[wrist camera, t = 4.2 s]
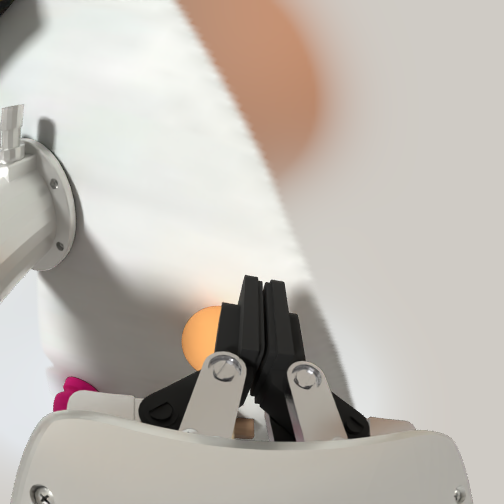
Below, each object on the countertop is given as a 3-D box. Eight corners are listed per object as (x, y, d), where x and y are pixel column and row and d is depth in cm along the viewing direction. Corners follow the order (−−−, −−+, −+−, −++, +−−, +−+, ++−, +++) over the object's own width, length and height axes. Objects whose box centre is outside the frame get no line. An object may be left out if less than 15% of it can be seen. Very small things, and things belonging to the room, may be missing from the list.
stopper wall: (153, 405, 33) (149, 421, 30) (253, 418, 35) (254, 435, 32) (153, 409, 34) (150, 425, 31) (251, 422, 36) (252, 439, 33)
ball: (189, 285, 22) (176, 339, 17) (260, 297, 23) (264, 351, 18) (185, 334, 25) (175, 384, 20) (246, 342, 26) (247, 394, 21)
